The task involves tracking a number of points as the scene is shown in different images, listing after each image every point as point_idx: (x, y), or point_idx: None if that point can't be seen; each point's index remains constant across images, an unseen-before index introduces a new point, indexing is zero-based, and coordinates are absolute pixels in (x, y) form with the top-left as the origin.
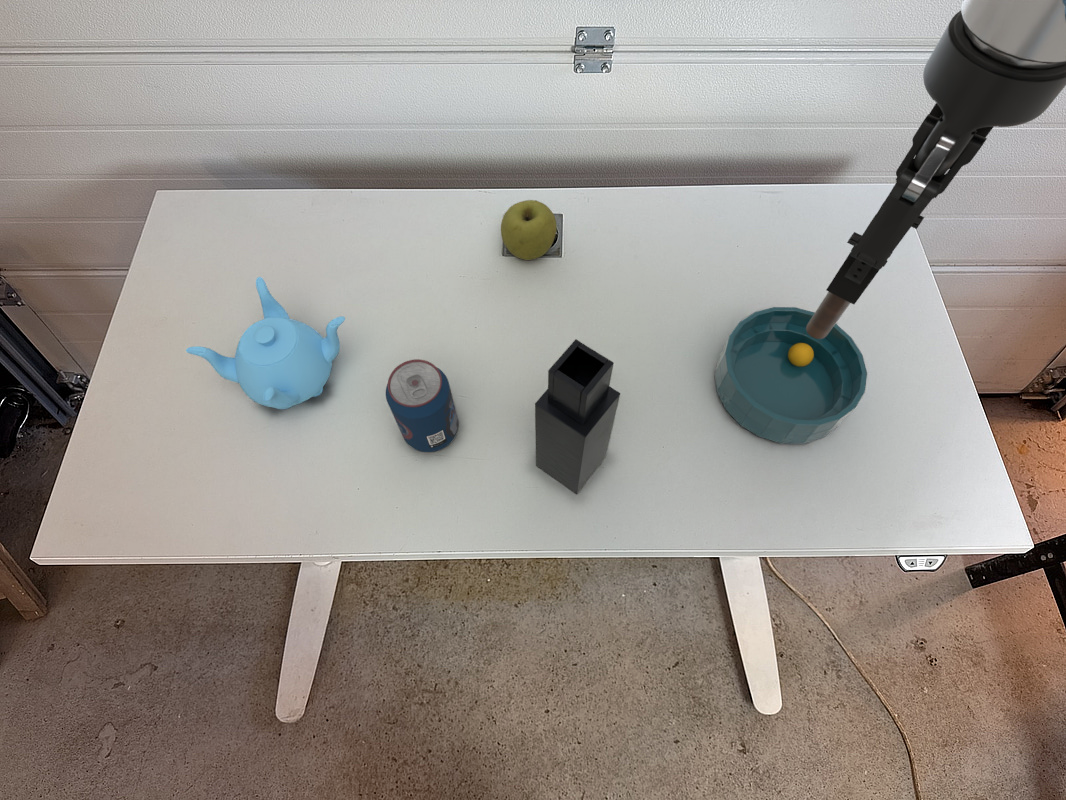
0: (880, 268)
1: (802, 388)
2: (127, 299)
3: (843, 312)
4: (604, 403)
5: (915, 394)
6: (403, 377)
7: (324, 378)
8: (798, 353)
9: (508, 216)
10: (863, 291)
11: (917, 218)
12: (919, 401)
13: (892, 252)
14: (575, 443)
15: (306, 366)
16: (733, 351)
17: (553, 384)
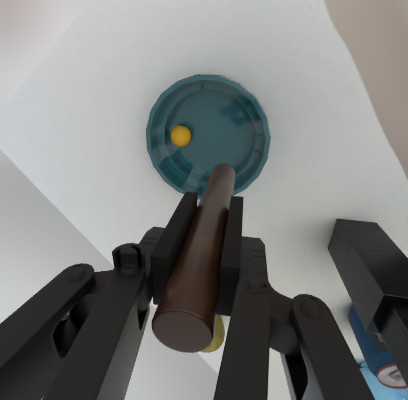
0: (318, 301)
1: (204, 118)
2: None
3: (221, 180)
4: (401, 301)
5: (146, 22)
6: (394, 380)
7: (370, 375)
8: (184, 140)
9: (211, 351)
10: (242, 211)
11: (124, 261)
12: (150, 15)
13: (254, 288)
14: None
15: (380, 396)
16: None
17: None
